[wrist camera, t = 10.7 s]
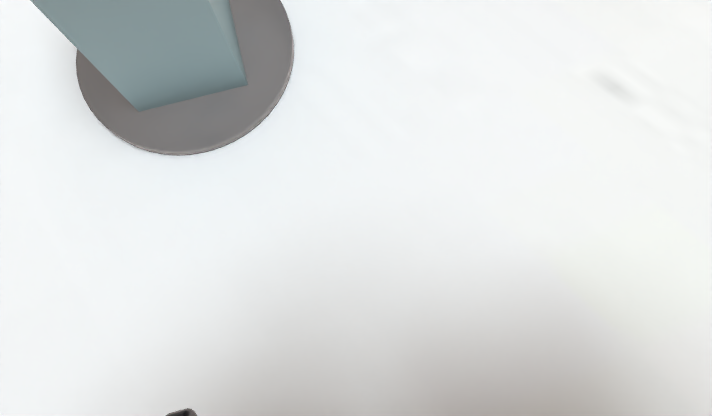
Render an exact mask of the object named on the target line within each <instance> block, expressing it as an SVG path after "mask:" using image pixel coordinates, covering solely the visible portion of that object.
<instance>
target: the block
mask: <svg viewBox="0 0 712 416" xmlns="http://www.w3.org/2000/svg"><path fill="white" fill-rule="evenodd" d="M31 1H32V2H33V4H34V5H35V6H36V7H37V8H38V9H39V10H40V11H41V12H42V13H43V14H44V15H45V16H46V17H47V18H48V19H49V20H50V21H51V22H52V23H53V24H54V25H55V26H56V27H57V28H58V29H59V30H60V31H61V32H62V33H63V34H64V35H65V36H66V37H67V38H68V39H69V41H70V42H71V43H72V44H73V45H74V46H75V47H76V48H77V49H78V50H79V51H80V52H81V53H82V54H83V55H84V56H85V57H86V58H87V59H88V60H89V61H90V62H91V63H92V64H93V65H94V66H95V67H96V68H97V69H98V70H99V71H100V72H101V73H102V74H103V75H104V76H105V78H106V79H107V80H108V81H109V82H110V83H111V84H112V85H113V86H114V87H115V88H116V89H117V90H118V91H119V92H120V93H121V94H122V95H123V96H124V97H125V98H126V99H127V100H128V101H129V102H130V103H131V104H132V105H133V106H134V107H135V108H136V109H137V110H138V111H139V112H140V111H144V110H148V109H152V108H156V107H160V106H165V105H169V104H173V103H177V102H181V101H185V100H189V99H193V98H197V97H201V96H205V95H209V94H213V93H217V92H221V91H225V90H229V89H233V88H237V87H242V86H246V85H248V83H247V79H246V74H245V70H244V65H243V61H242V56H241V52H240V48H239V43H238V39H237V34H236V30H235V26H234V21H233V17H232V12H231V8H230V3H229V0H31Z"/></svg>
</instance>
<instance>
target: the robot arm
mask: <svg viewBox="0 0 712 416" xmlns="http://www.w3.org/2000/svg"><path fill="white" fill-rule="evenodd" d="M166 416H197V415H196V413H195V412H194V411H193V410H192V409H188V408H187V409H184V410H180V411H176V412H172V413H169V414H167V415H166Z"/></svg>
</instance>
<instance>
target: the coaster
mask: <svg viewBox="0 0 712 416" xmlns="http://www.w3.org/2000/svg"><path fill="white" fill-rule="evenodd" d="M229 3H230V8H231V12H232V17H233V21H234V26H235V30H236V34H237V39H238V43H239V48H240V52H241V56H242V61H243V65H244V70H245V74H246V79H247V83H248V85H246V86H242V87H237V88H233V89H229V90H225V91H221V92H217V93H213V94H209V95H205V96H201V97H197V98H193V99H189V100H185V101H181V102H177V103H173V104H169V105H165V106H160V107H156V108H152V109H148V110H144V111H140V112H139V111H138V110H137V109H136V108H135V107H134V106H133V105H132V104H131V103H130V102H129V101H128V100H127V99H126V98H125V97H124V96H123V95H122V94H121V93H120V92H119V91H118V90H117V89H116V88H115V87H114V86H113V85H112V84H111V83H110V82H109V81H108V80H107V79H106V78H105V76H104V75H103V74H102V73H101V72H100V71H99V70H98V69H97V68H96V67H95V66H94V65H93V64H92V63H91V62H90V61H89V60H88V59H87V58H86V57H85V56H84V55H83V54H82V53H81V52H80V51H79V50H78V49H77V56H76V69H77V77H78V82H79V86H80V89H81V92H82V94H83V97H84V99H85V101H86V103H87V104H88V106H89V108H90V110H91V111H92V112H93V113H94V115H95V116H96V117H97V118H98V120H99V121H101V122H102V123H103V124H104V125H105V126H106V127H107V128H108V129H109V130H110V131H112V132H113V133H114V134H115V135H117V136H118V137H120V138H121V139H123V140H124V141H126V142H128V143H130V144H132V145H134V146H136V147H138V148H141V149H144V150H147V151H150V152H155V153H160V154H169V155H188V154H196V153H202V152H207V151H210V150H214V149H217V148H220V147H223V146H225V145H227V144H229V143H231V142H234V141H236V140H237V139H239V138H241V137H242V136H244V135H245V134H247V133H248V132H250V131H251V130H252V129H254V128H255V127H256V126H257V125H259V124H260V123H261V122H262V121H263V120H264V119H265V118H266V117H267V116H268V115H269V113H270V112H271V111H272V109H273V108H274V107H275V106H276V104H277V103H278V101H279V99H280V98H281V96H282V94H283V93H284V90H285V88H286V86H287V83H288V81H289V78H290V74H291V70H292V66H293V57H294V42H293V36H292V31H291V26H290V23H289V20H288V17H287V14H286V11H285V9H284V7H283V5H282V3H281V1H280V0H229Z"/></svg>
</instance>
